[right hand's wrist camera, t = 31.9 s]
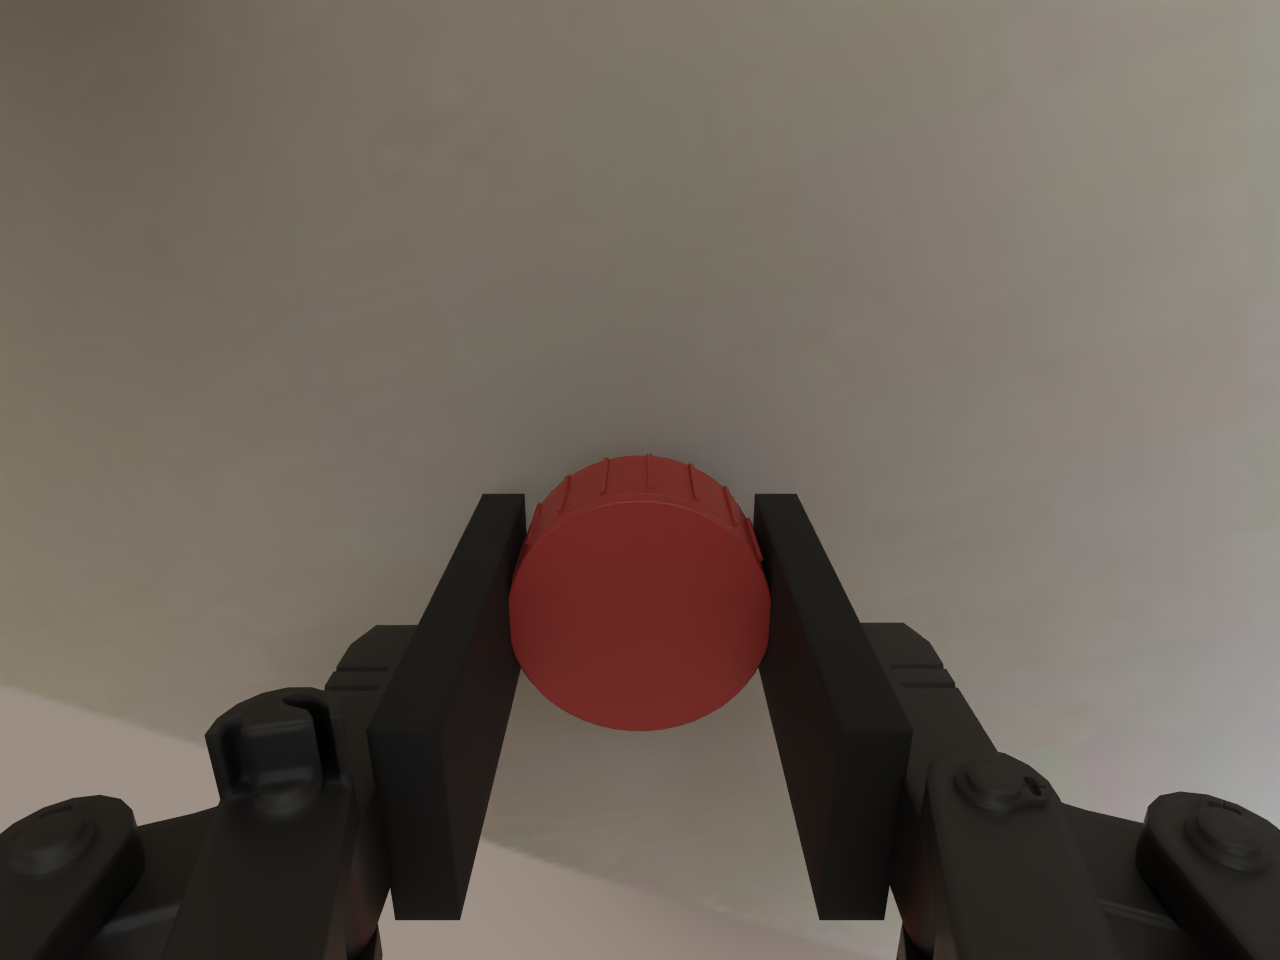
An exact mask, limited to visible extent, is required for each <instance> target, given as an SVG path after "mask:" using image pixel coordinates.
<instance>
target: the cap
mask: <svg viewBox="0 0 1280 960" xmlns="http://www.w3.org/2000/svg"><path fill="white" fill-rule="evenodd" d="M762 560H763V557H762V554H761V551H760V547H759V544H758V541H757V538H756V535H755V532H754V529H753V526H752V523H751V520H750V518H747V519H746V517H745V515H744V514H743V512H742V510H741V508H740V507H739V505H738V504H737V503H736V501H735V500H734V499H733V497H732V496H731V495H730V493H729V490H728V488H727V487H726V486H724V487H722V486H721V485H720V484H719V483H717V482H716V481H715V480H713V479H712V478H711V477H709V476H708V475H706V474H704V473H703V472H701V471H699V470H697V469H696V468H694V465H692V464H689V465H686V464H684V463H681V462H678V461H674V460H671V459H667V458H661V457H654V456H652V454H647V456H626V457H617V458H613V459H609V458H604V461H601V462H599V463H596V464H593V465H591V466H588V467H586V468H584V469H582V470H580V471H578V472H577V473H575V474H573V475H572V476H570V475H567V476H566V477H565V480H564V481H563V482H562V483H561V484H560V485H559V486H557V487H556V488H555V489H554V490H553V491H552V492H551V493H550V494H549V496H548V497H547V498H546V499H545V500H544V502H543V503H542V504H541V503H538V505H537V507H536V510H535V513H534V517H533V520H532V523H531V525H530V528H529V530H528V533H527V536H526V538H525V539H524V542H523V546H522V549H521V552H520V555H519V558H518V561H517V564H516V568H515V571H514V574H513V577H512V584H511V588H510V592H509V615H510V629H511V643H512V648H513V651H514V654H515V657H516V659H517V660H518V662H519V664H520V666H521V668H522V670H523V672H524V673H525V674H526V676H527V677H528V678H529V680H530V681H531V683H532V684H533V685H534V686H535V687H536V688H537V689H538V690H539V691H540V692H541V693H542V694H543V695H544V696H545V697H546V698H548V699H549V700H550V701H551V702H552V703H554V704H555V705H556V706H558V707H560V708H561V709H563V710H564V711H566V712H568V713H569V714H571V715H573V716H576V717H578V718H580V719H582V720H584V721H587V722H590V723H593V724H596V725H599V726H603V727H608V728H612V729H619V730H628V731H651V730H661V729H667V728H672V727H676V726H680V725H683V724H686V723H689V722H693V721H695V720H697V719H699V718H702V717H704V716H706V715H708V714H710V713H712V712H713V711H715V710H717V709H718V708H720V707H722V706H723V705H724V704H726V703H727V702H728V701H729V700H731V699H732V698H733V697H734V696H735V695H736V694H737V693H738V692H739V691H740V690H741V689H742V688H743V687H744V686H745V685H746V684H747V683H748V681H749V680H750V679H751V678H752V676H753V675H754V674H755V672H756V670H757V668H758V667H759V665H760V663H761V661H762V660H763V657H764V655H765V652H766V650H767V647H768V636H769V621H770V607H771V595H770V590H769V586H768V583H767V579H766V577H765V573H764V570H763V567H762V564H761V561H762Z"/></svg>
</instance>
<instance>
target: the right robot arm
mask: <svg viewBox="0 0 1280 960" xmlns="http://www.w3.org/2000/svg"><path fill="white" fill-rule="evenodd" d="M753 529H754V532H755V535H756V538H757V541H758V544H759V547H760V551H761V554H762V557H763V560H762V561H761V564H762V567H763V570H764V573H765V577H766V579H767V583H768V586H769V590H770V595H771V607H770V621H769V636H768V647H767V650H766V652H765V655H764V657H763V660H762V661H761V663H760V665H759V667H758V668H759V672H760V676H761V680H762V684H763V688H764V692H765V696H766V701H767V705H768V709H769V713H770V717H771V721H772V725H773V730H774V734H775V738H776V742H777V746H778V750H779V754H780V759H781V763H782V767H783V771H784V775H785V779H786V783H787V787H788V792H789V796H790V800H791V804H792V808H793V812H794V816H795V821H796V825H797V829H798V833H799V837H800V841H801V845H802V850H803V854H804V858H805V862H806V866H807V870H808V874H809V878H810V883H811V887H812V891H813V895H814V899H815V903H816V907H817V912H818V916H819V920H884V918H885V911H886V905H887V898H888V892H889V885H890V887H891V890H892V893H893V895H894V898H895V901H896V904H897V907H898V910H899V912H900V915H901V918H902V921H903V922H902V928H901V934H900V940H899V946H898V952H897V958H896V960H1280V830H1279V829H1278V828H1277V827H1275V826H1274V825H1273V824H1271V823H1270V822H1269V821H1268V820H1266V819H1264V818H1262V817H1260V816H1258V815H1256V814H1255V813H1253V812H1251V811H1249V810H1247V809H1245V808H1243V807H1241V806H1239V805H1237V804H1234V803H1231V802H1228V801H1225V800H1222V799H1219V798H1216V797H1213V796H1210V795H1206V794H1197V793H1188V792H1176V793H1170V794H1165V795H1160V796H1159V797H1158V798H1157V799H1156V800H1154V801H1153V802H1152V803H1151V804H1150V805H1149V806H1148V809H1147V812H1146V816H1145V819H1144V822H1143V823H1140V822H1135V821H1131V820H1127V819H1122V818H1118V817H1114V816H1109V815H1105V814H1100V813H1096V812H1092V811H1087V810H1084V809H1081V808H1077V807H1074V806H1071V805H1067V804H1064V803H1062V802H1061V801H1060V798H1059V797H1058V795H1057V794H1056V792H1055V791H1054V789H1053V788H1052V786H1051V784H1050V783H1049V781H1048V780H1046V779H1045V778H1044V777H1043V776H1042V775H1040V774H1039V773H1038V772H1037V771H1035V770H1034V769H1033V768H1032V767H1031V766H1029V765H1027V764H1025V763H1023V762H1021V761H1019V760H1017V759H1015V758H1013V757H1011V756H1009V755H1007V754H1005V753H1001V752H998V751H997V750H996V748H995V747H994V745H993V743H992V742H991V740H990V739H989V737H988V735H987V734H986V732H985V731H984V729H983V727H982V726H981V724H980V722H979V721H978V719H977V718H976V716H975V714H974V713H973V711H972V710H971V708H970V706H969V705H968V703H967V702H966V700H965V698H964V697H963V695H962V694H961V692H960V690H959V689H958V688H955V682H954V681H953V679H952V678H951V676H950V674H949V673H948V671H947V670H946V669H944V668H943V663H942V662H941V660H940V658H939V657H938V655H937V654H936V652H935V650H934V649H933V647H932V646H931V644H930V642H929V641H927V640H926V639H925V638H923V637H922V636H921V635H919V634H918V633H916V632H915V631H914V630H912V629H911V628H910V627H908V626H907V625H906V624H904V623H860V621H859V619H858V617H857V615H856V613H855V611H854V609H853V607H852V605H851V603H850V601H849V599H848V597H847V595H846V593H845V591H844V589H843V587H842V585H841V583H840V581H839V579H838V577H837V575H836V573H835V571H834V569H833V567H832V565H831V563H830V561H829V559H828V557H827V555H826V553H825V551H824V549H823V547H822V545H821V543H820V541H819V538H818V536H817V534H816V532H815V530H814V528H813V526H812V524H811V522H810V520H809V518H808V516H807V514H806V512H805V510H804V508H803V506H802V504H801V502H800V500H799V498H798V496H797V494H755V504H754V522H753ZM526 536H527V531H526V513H525V496H524V494H483V495H482V497H481V499H480V501H479V503H478V505H477V507H476V509H475V511H474V513H473V515H472V517H471V519H470V521H469V523H468V525H467V527H466V529H465V531H464V533H463V535H462V537H461V539H460V541H459V543H458V546H457V548H456V550H455V552H454V554H453V556H452V558H451V560H450V562H449V564H448V566H447V568H446V570H445V572H444V574H443V576H442V578H441V580H440V582H439V584H438V586H437V588H436V590H435V592H434V594H433V596H432V598H431V600H430V602H429V604H428V606H427V608H426V610H425V612H424V614H423V616H422V618H421V620H420V622H419V624H418V625H376V626H375V627H373V628H372V629H371V630H369V631H368V632H367V633H365V634H364V635H363V636H361V637H360V638H359V639H357V640H356V641H355V642H353V643H352V644H351V645H350V646H349V648H348V649H347V651H346V653H345V654H344V656H343V657H342V659H341V661H340V662H339V664H338V666H337V670H336V672H333V674H332V675H331V677H330V678H329V680H328V682H327V683H326V685H325V690H324V691H323V690H319V689H315V688H312V687H292V688H283V689H279V690H274V691H270V692H266V693H261V694H259V695H257V696H255V697H252V698H250V699H248V700H245V701H243V702H241V703H238V704H237V705H235V706H234V707H232V708H231V709H230V710H228V711H227V712H225V713H224V714H223V715H221V716H220V717H218V718H217V719H216V721H215V722H214V723H213V725H212V726H211V727H210V729H209V730H208V731H207V732H206V734H205V739H206V743H207V747H208V751H209V755H210V759H211V763H212V767H213V771H214V775H215V780H216V784H217V788H218V792H219V796H220V802H219V805H218V806H216V807H213V808H210V809H207V810H203V811H200V812H197V813H194V814H189V815H185V816H181V817H176V818H172V819H167V820H163V821H159V822H155V823H150V824H146V825H142V826H137V824H136V821H135V818H134V815H133V811H132V809H131V808H130V807H129V806H128V805H127V804H125V803H124V802H123V801H122V800H121V799H118V798H113V797H108V796H103V795H95V796H87V797H78V798H72V799H69V800H66V801H63V802H60V803H57V804H53V805H50V806H47V807H44V808H42V809H40V810H38V811H36V812H34V813H33V814H31V815H29V816H27V817H25V818H23V819H21V820H19V821H17V822H16V823H14V824H12V825H11V826H10V827H9V828H7V829H6V830H5V831H4V832H2V833H1V834H0V960H382V948H381V941H380V934H379V928H378V921H379V918H380V915H381V912H382V909H383V906H384V903H385V901H386V898H387V895H388V892H389V889H391V895H392V901H393V908H394V914H395V920H460V918H461V914H462V909H463V905H464V901H465V897H466V893H467V889H468V885H469V880H470V876H471V872H472V868H473V864H474V860H475V856H476V852H477V847H478V843H479V839H480V835H481V831H482V827H483V823H484V818H485V814H486V810H487V806H488V802H489V798H490V794H491V790H492V785H493V781H494V777H495V773H496V769H497V765H498V761H499V756H500V752H501V748H502V744H503V740H504V736H505V732H506V728H507V723H508V719H509V715H510V711H511V707H512V703H513V699H514V694H515V690H516V686H517V682H518V678H519V674H520V670H521V666H520V664H519V662H518V660H517V659H516V657H515V654H514V651H513V648H512V643H511V629H510V615H509V592H510V588H511V584H512V577H513V574H514V571H515V568H516V564H517V561H518V558H519V555H520V552H521V549H522V546H523V542H524V539H525V538H526Z"/></svg>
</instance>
